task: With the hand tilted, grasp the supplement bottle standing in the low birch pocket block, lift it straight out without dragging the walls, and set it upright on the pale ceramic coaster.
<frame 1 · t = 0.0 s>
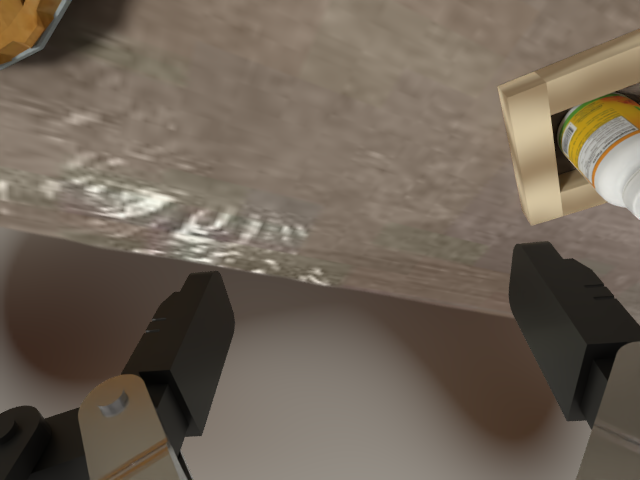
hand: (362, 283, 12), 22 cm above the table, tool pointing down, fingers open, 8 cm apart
supplement bottle: (591, 124, 32), resting in birch pocket block
birch pocket block: (593, 125, 32), on the table
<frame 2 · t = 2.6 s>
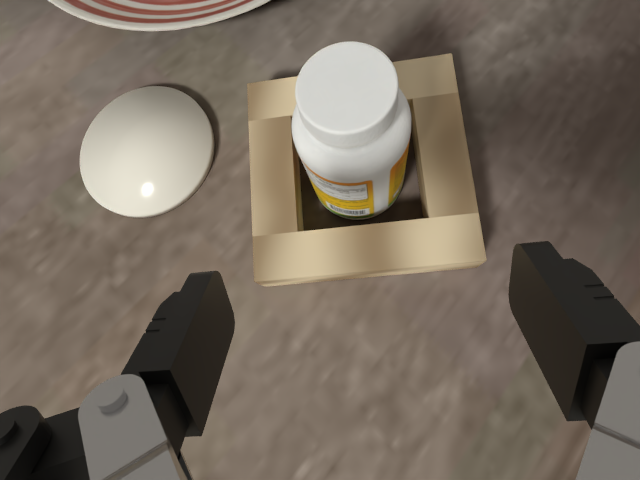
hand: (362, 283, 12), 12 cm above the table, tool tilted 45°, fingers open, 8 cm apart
supplement bottle: (358, 179, 25), resting in birch pocket block
birch pocket block: (357, 178, 25), on the table
pale ceramic coaster: (149, 152, 28), on the table
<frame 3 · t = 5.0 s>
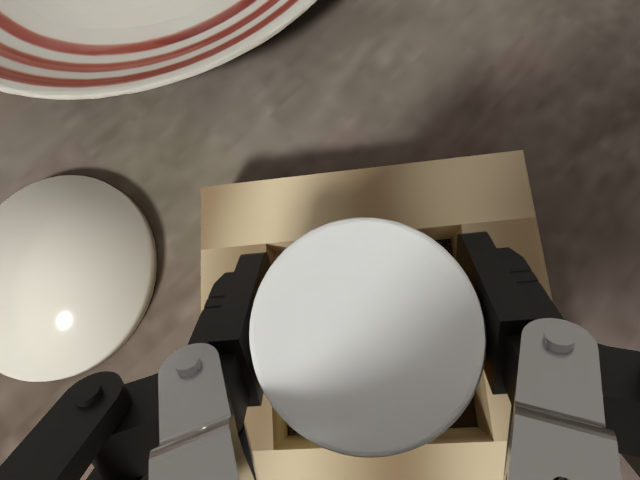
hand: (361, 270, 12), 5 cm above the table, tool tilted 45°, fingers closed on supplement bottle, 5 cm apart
supplement bottle: (371, 334, 17), resting in birch pocket block, touching gripper
birch pocket block: (371, 334, 16), on the table
pale ceramic coaster: (62, 274, 19), on the table
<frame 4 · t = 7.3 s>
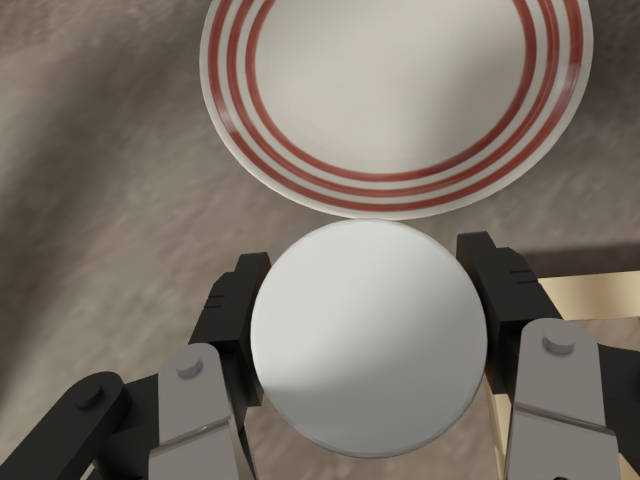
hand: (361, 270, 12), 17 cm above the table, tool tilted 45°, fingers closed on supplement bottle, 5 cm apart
supplement bottle: (371, 334, 17), point 12 cm above the table, touching gripper
birch pocket block: (588, 379, 25), on the table
dinner plate: (384, 61, 33), on the table
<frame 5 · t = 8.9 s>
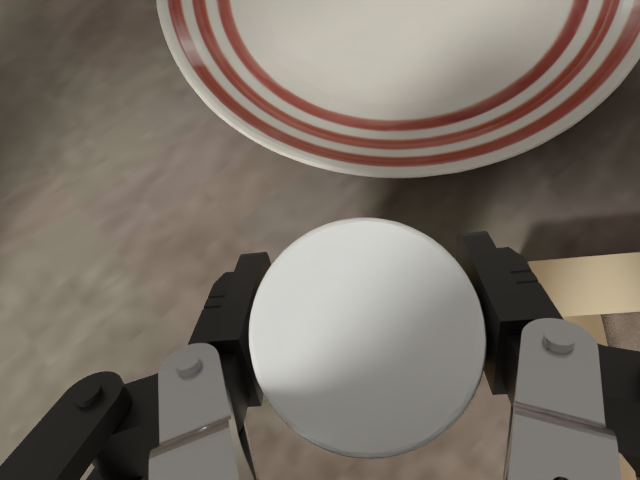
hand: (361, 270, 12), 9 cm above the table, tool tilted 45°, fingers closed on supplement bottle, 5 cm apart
supplement bottle: (371, 334, 17), point 5 cm above the table, touching gripper
when the fingers open (7 cm above the table, at t = 10.0 s): supplement bottle drops 1 cm, resting on pale ceramic coaster.
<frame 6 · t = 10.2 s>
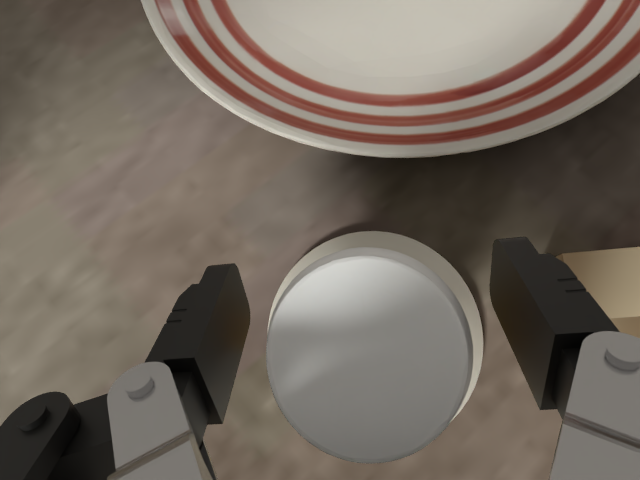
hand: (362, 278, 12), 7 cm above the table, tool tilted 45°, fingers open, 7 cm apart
supplement bottle: (370, 339, 18), resting on pale ceramic coaster
pale ceramic coaster: (371, 334, 18), on the table
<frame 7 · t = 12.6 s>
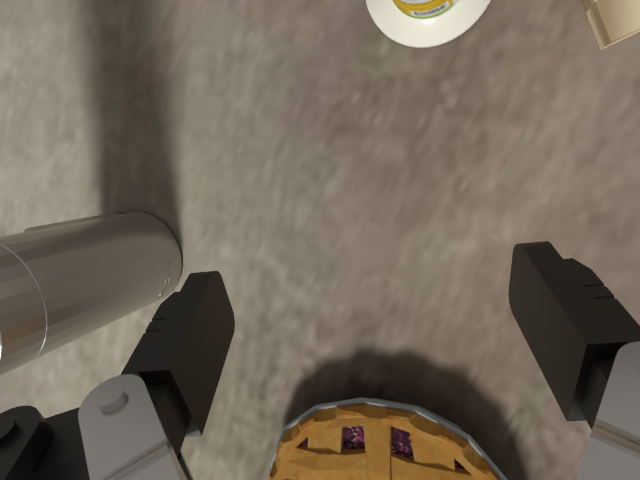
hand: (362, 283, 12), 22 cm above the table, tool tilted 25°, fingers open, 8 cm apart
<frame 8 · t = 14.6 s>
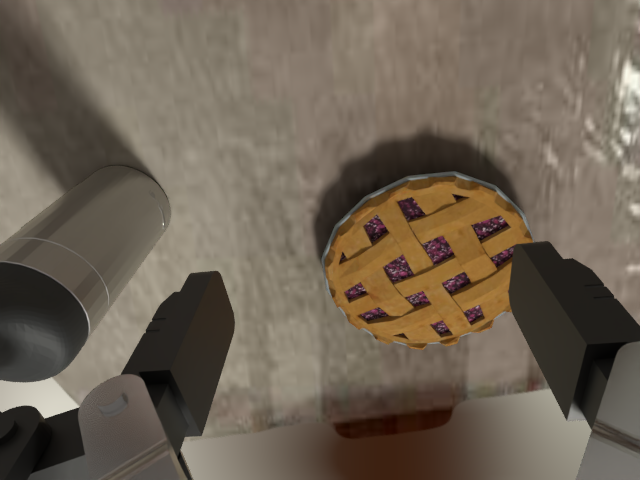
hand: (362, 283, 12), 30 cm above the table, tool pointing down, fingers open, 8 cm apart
pie: (421, 252, 47), on the table
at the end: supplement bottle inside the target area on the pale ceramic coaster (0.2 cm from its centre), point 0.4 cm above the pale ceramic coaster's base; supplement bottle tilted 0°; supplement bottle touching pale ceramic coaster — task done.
